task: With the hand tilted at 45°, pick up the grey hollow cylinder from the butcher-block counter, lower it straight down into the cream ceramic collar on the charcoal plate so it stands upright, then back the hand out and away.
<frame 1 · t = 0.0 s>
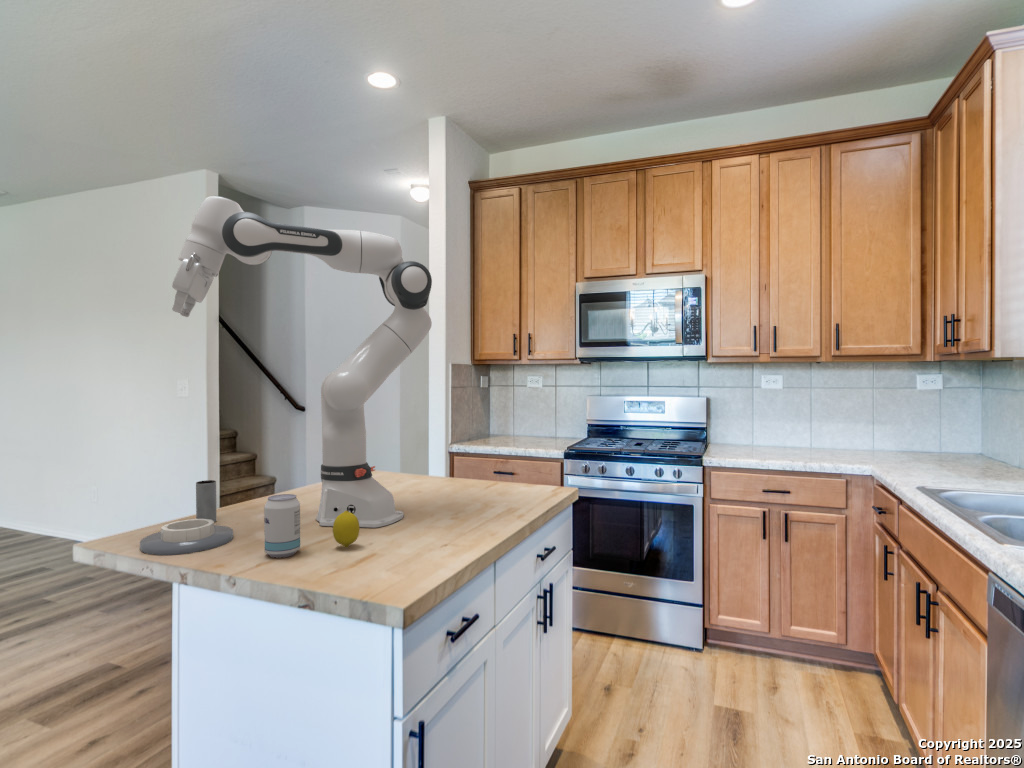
hand: (180, 314, 134), 52 cm above the counter, tool tilted 20°, fingers open, 8 cm apart
planter collar: (188, 542, 126), on the counter
beverage can: (282, 555, 117), on the counter
lemon: (346, 548, 122), on the counter
grey hollow cylinder: (206, 522, 144), on the counter
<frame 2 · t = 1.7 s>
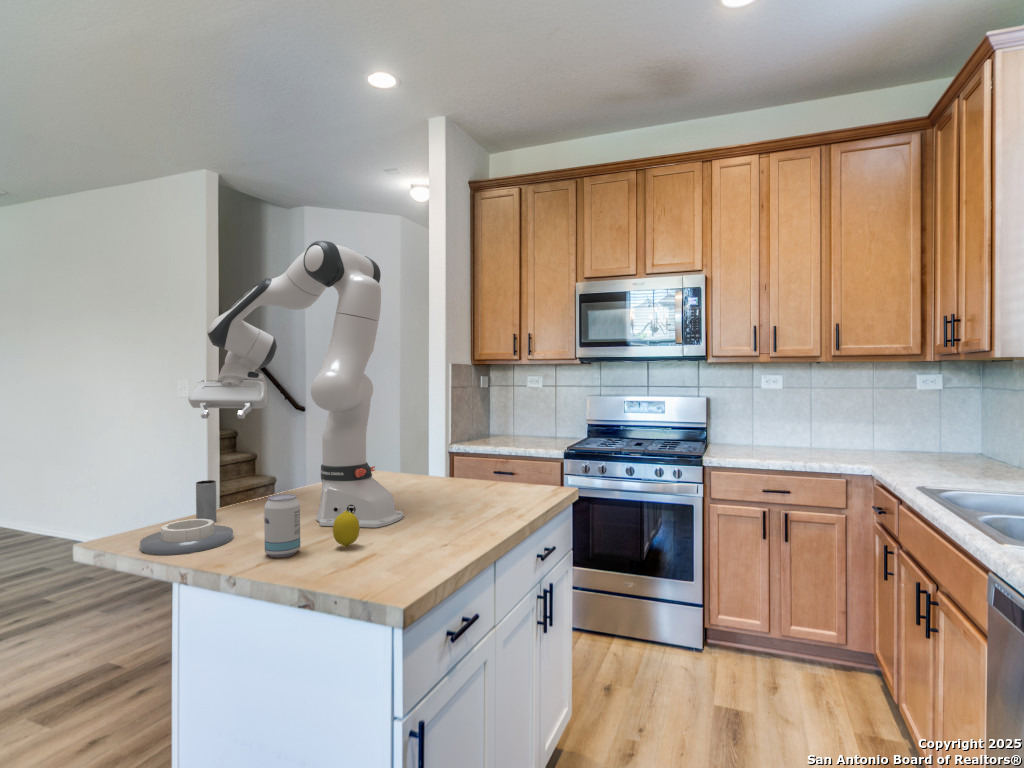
hand: (222, 417, 155), 26 cm above the counter, tool tilted 45°, fingers open, 8 cm apart
nothing on the counter moved.
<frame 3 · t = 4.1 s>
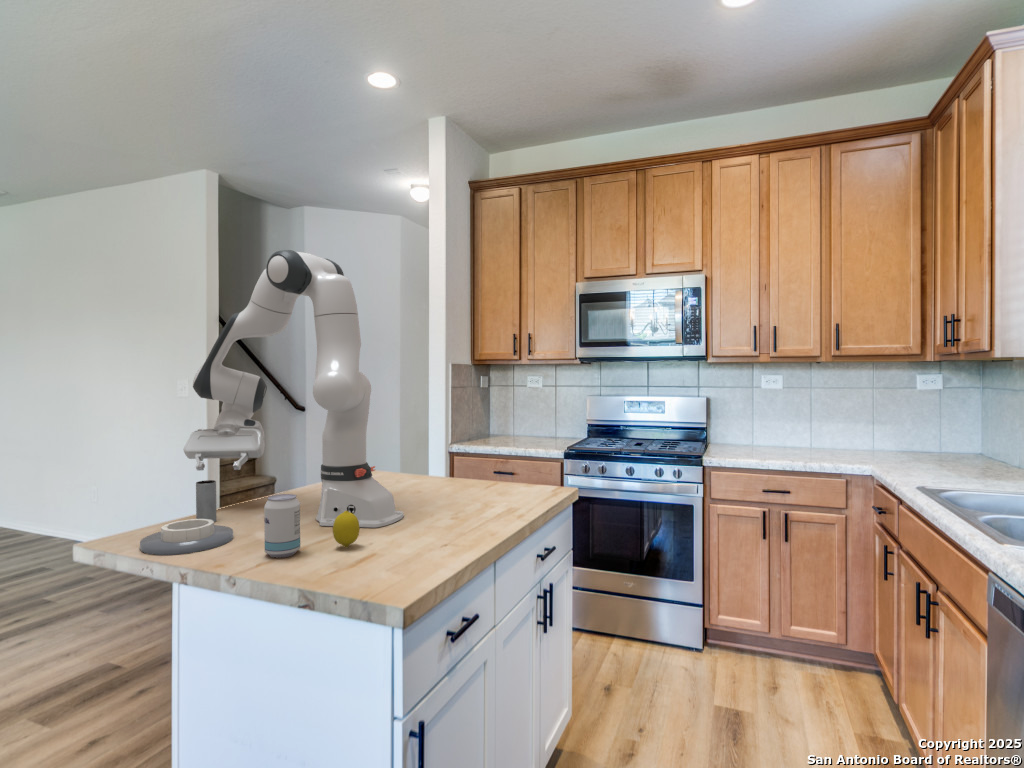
hand: (217, 468, 151), 12 cm above the counter, tool tilted 45°, fingers open, 8 cm apart
nothing on the counter moved.
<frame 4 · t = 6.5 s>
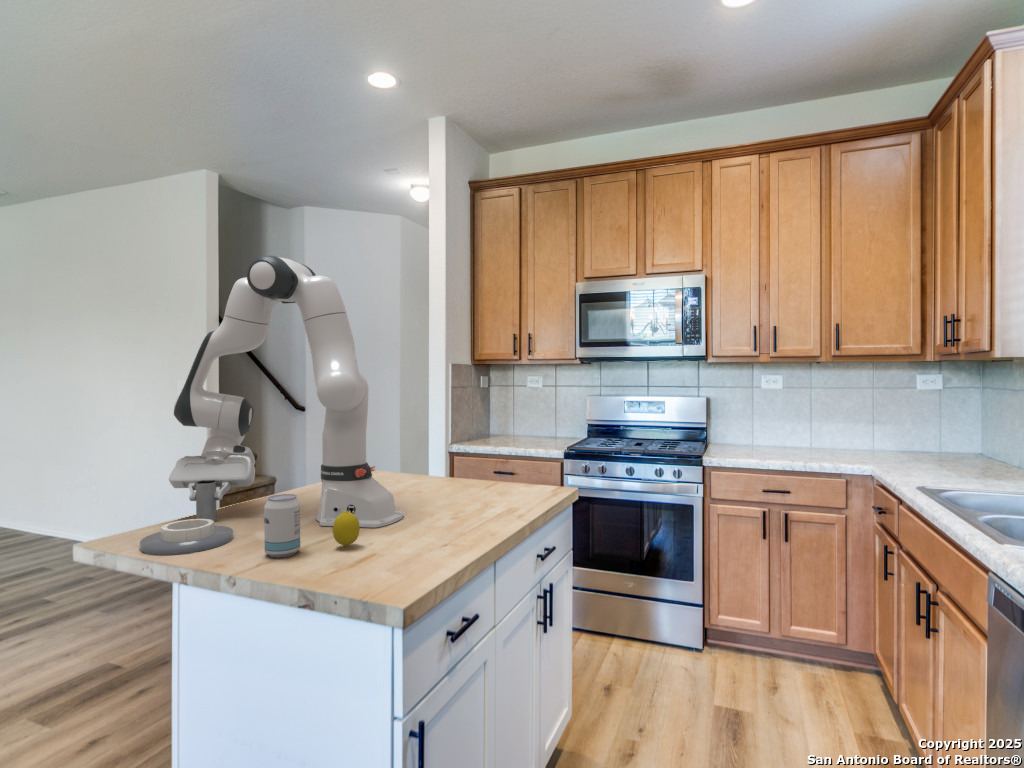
hand: (205, 499, 143), 6 cm above the counter, tool tilted 45°, fingers closed on grey hollow cylinder, 4 cm apart
grey hollow cylinder: (206, 522, 144), on the counter, touching gripper
everything else where it was.
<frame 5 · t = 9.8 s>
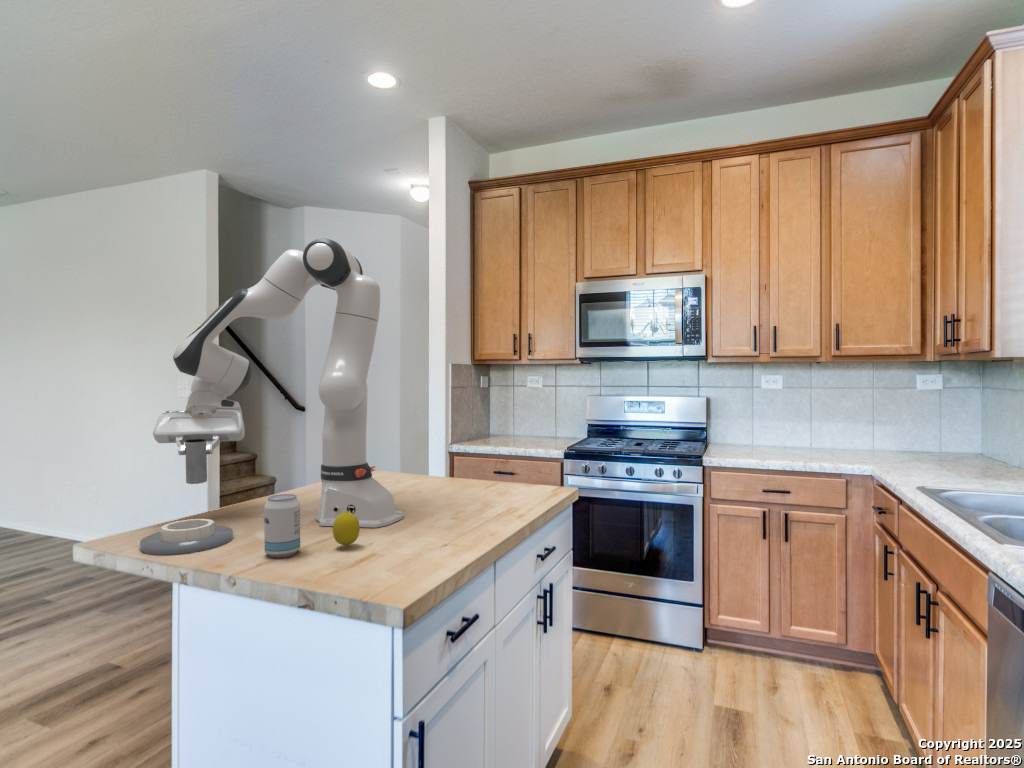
hand: (195, 453, 137), 18 cm above the counter, tool tilted 45°, fingers closed on grey hollow cylinder, 4 cm apart
grey hollow cylinder: (196, 482, 138), point 11 cm above the counter, touching gripper
everything else where it was.
when the fingers open (9 cm above the counter, at t = 13.4 s): grey hollow cylinder stays where it is, resting on planter collar.
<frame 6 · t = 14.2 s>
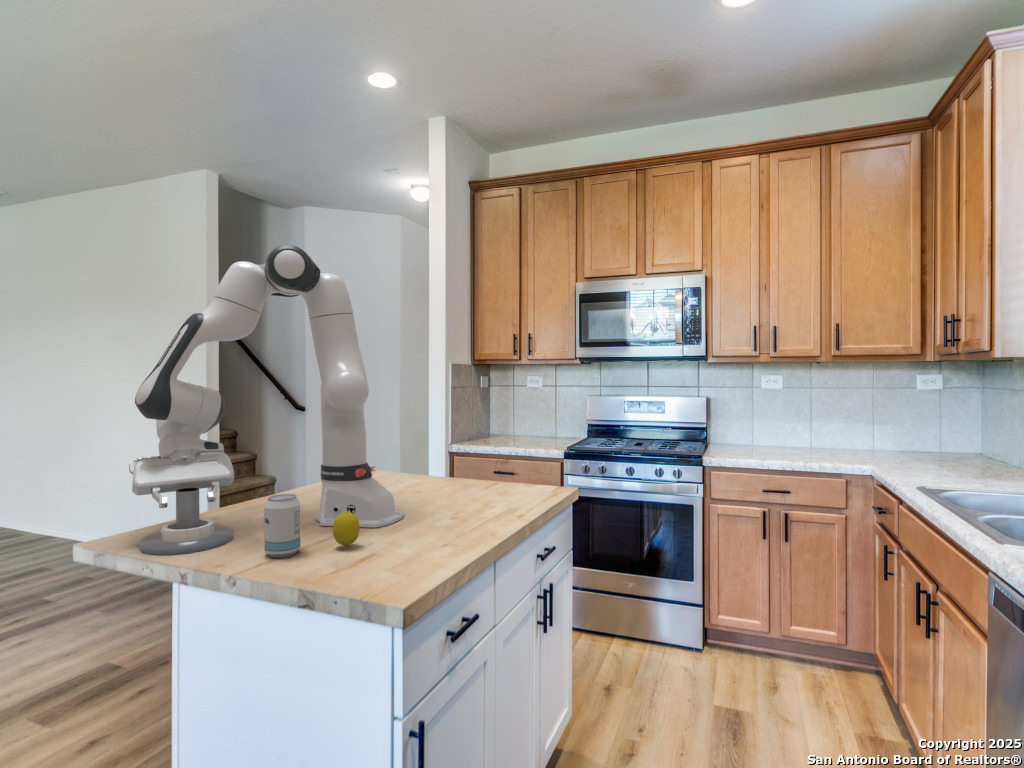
hand: (188, 503, 125), 9 cm above the counter, tool tilted 45°, fingers open, 8 cm apart
grey hollow cylinder: (188, 536, 126), point 1 cm above the counter, touching planter collar
everything else where it was.
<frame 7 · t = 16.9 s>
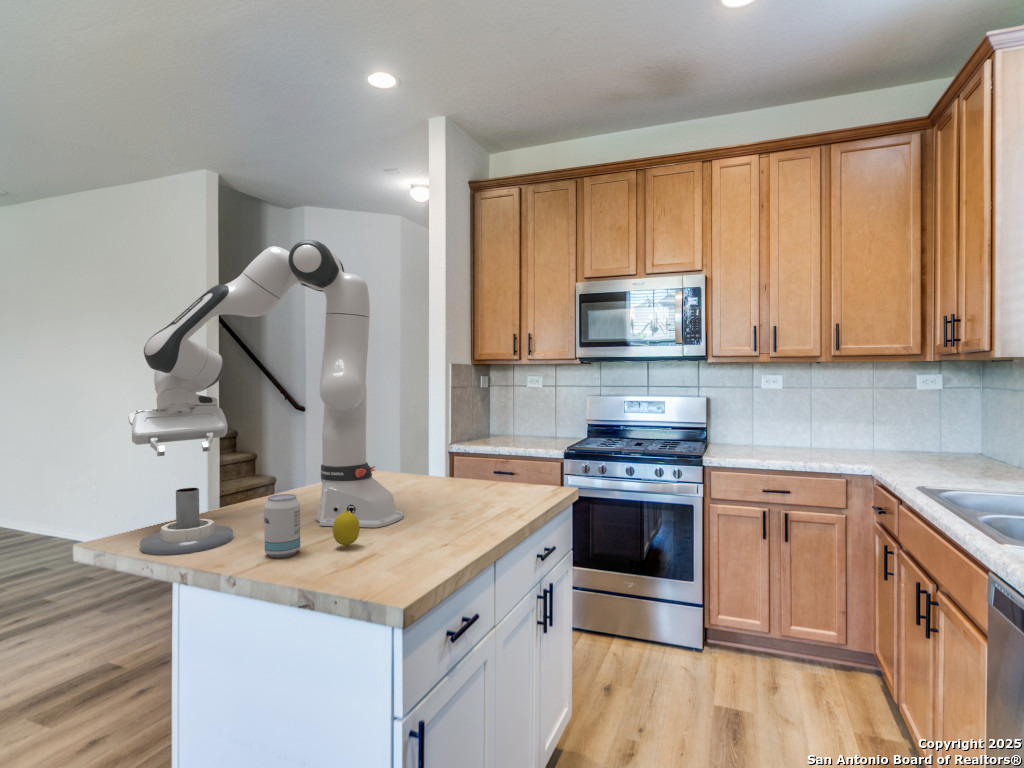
hand: (184, 452, 134), 19 cm above the counter, tool tilted 45°, fingers open, 8 cm apart
nothing on the counter moved.
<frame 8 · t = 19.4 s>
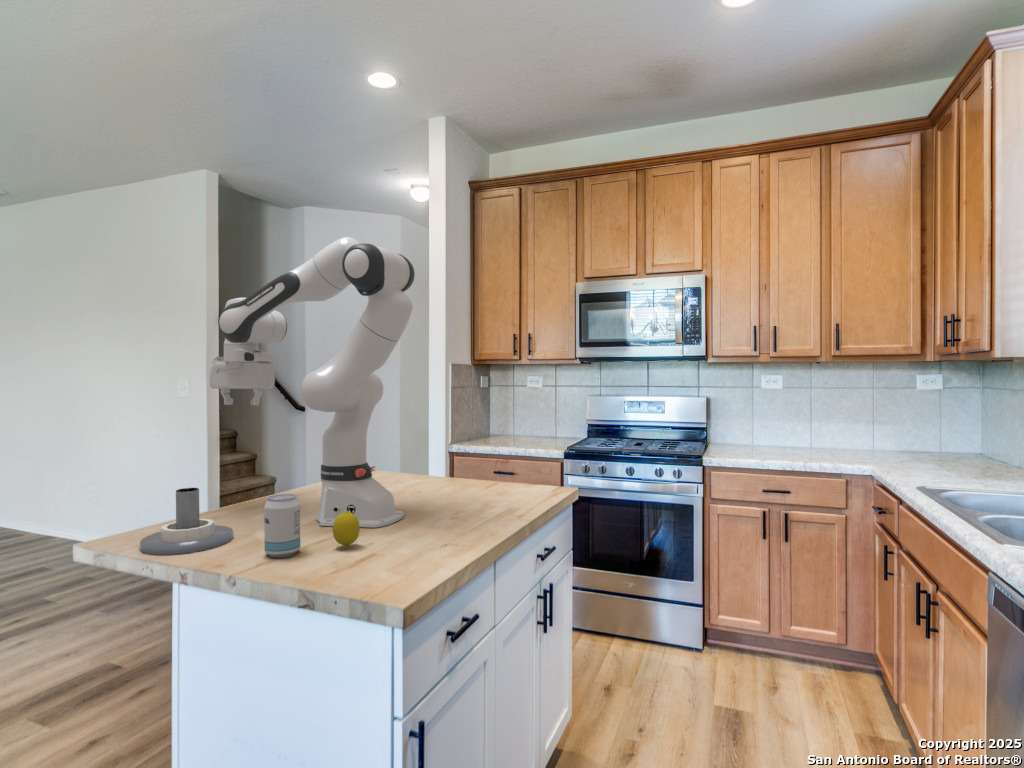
hand: (241, 405, 158), 29 cm above the counter, tool pointing down, fingers open, 8 cm apart
nothing on the counter moved.
at the end: grey hollow cylinder 0.4 cm off-centre on the planter collar, point 1.3 cm above the planter collar's base; grey hollow cylinder tilted 0°; the gripper is holding nothing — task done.
